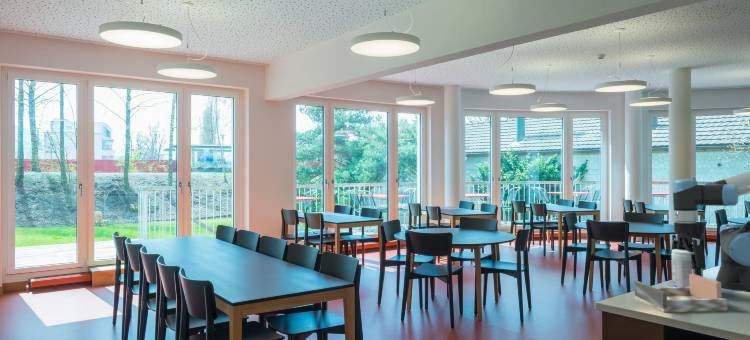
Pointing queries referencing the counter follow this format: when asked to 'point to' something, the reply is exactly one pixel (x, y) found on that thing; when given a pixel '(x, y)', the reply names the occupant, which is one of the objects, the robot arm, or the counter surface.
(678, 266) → the supplement tub
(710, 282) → the plate
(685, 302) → the grey tray
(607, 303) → the counter surface
